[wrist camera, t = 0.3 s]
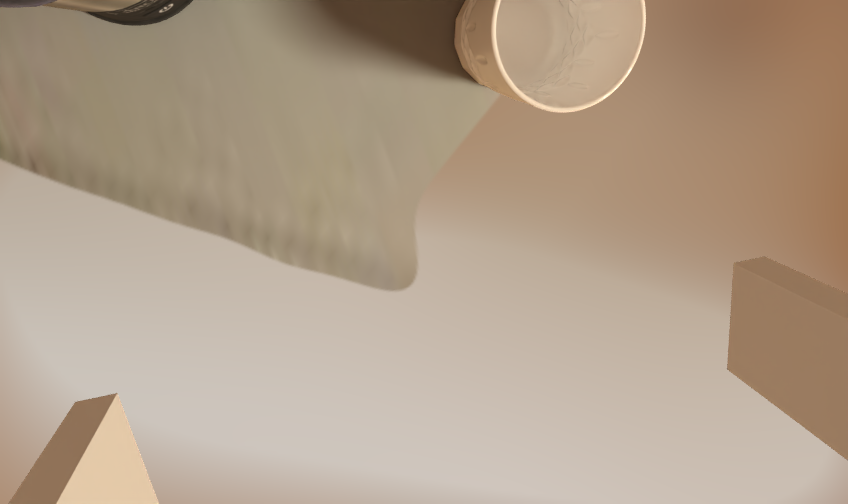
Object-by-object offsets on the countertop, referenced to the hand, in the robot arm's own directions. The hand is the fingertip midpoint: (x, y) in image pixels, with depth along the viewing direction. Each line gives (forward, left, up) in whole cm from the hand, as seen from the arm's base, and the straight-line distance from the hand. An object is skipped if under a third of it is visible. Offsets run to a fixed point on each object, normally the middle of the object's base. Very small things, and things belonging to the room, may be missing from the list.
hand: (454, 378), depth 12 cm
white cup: (-5, +11, -28) cm, 30 cm away
